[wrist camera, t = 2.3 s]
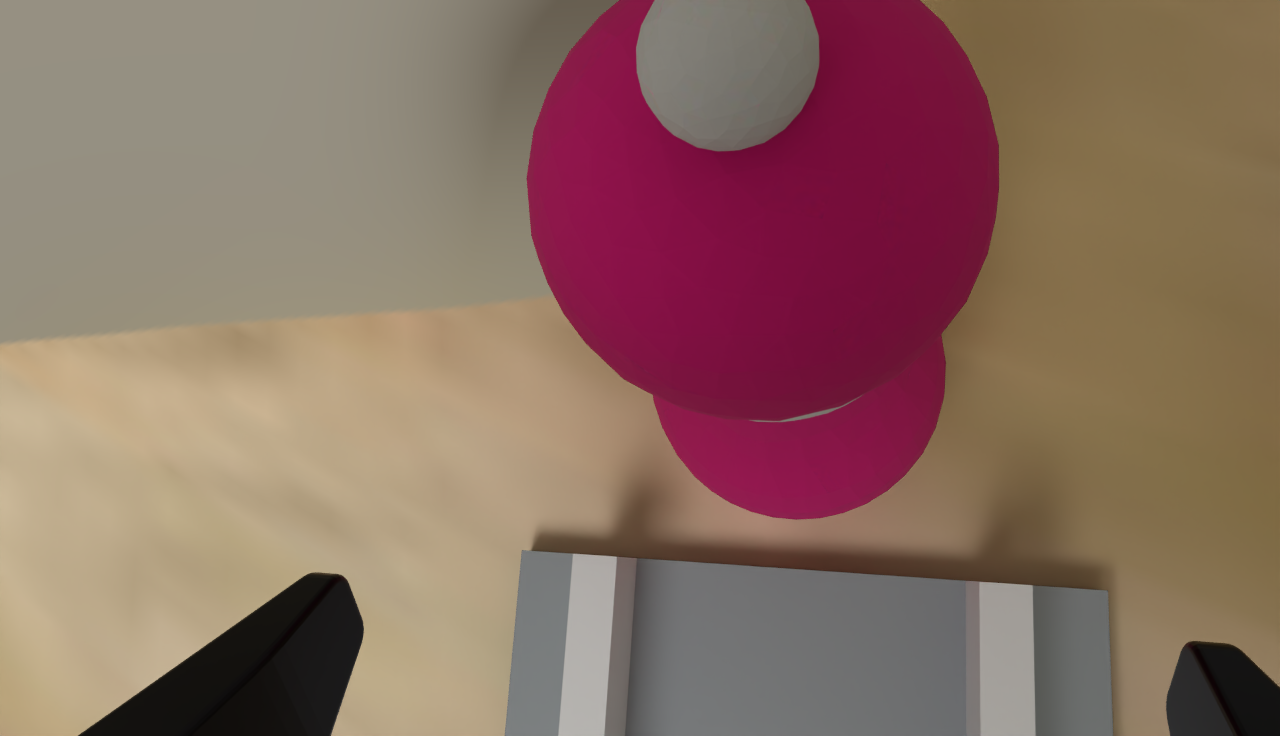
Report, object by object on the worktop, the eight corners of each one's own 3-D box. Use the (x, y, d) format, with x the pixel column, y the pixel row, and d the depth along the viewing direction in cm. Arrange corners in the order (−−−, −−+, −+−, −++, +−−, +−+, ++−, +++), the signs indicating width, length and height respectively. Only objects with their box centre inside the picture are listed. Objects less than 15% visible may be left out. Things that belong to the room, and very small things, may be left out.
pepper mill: (974, 463, 26) (1365, 150, 7) (742, 568, 26) (495, 555, 7) (857, 248, 28) (902, -464, 9) (644, 350, 29) (252, -100, 9)
